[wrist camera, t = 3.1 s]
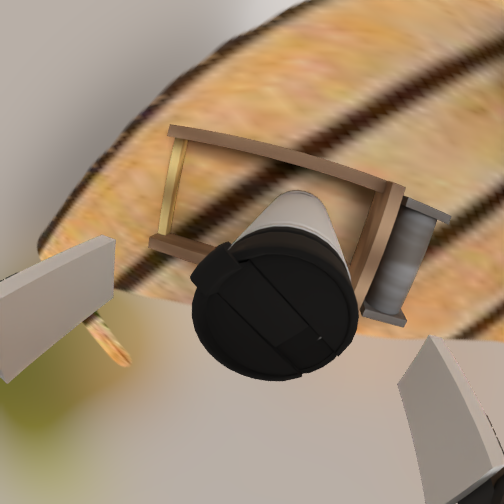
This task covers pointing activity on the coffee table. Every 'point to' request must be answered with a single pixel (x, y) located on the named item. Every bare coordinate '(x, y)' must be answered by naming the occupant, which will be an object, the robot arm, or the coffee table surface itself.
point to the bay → (372, 238)
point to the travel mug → (277, 294)
